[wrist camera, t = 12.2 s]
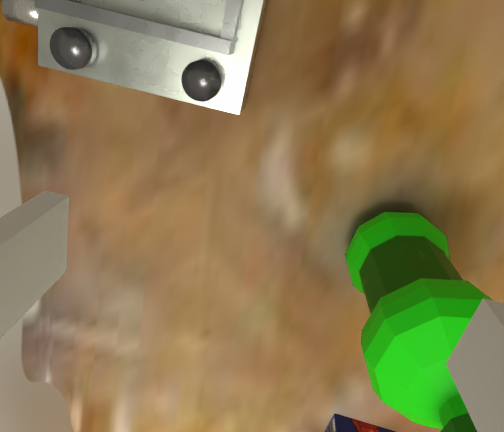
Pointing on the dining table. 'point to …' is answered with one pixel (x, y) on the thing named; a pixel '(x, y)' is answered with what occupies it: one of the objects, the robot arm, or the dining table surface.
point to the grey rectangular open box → (151, 44)
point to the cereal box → (351, 425)
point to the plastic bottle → (412, 316)
